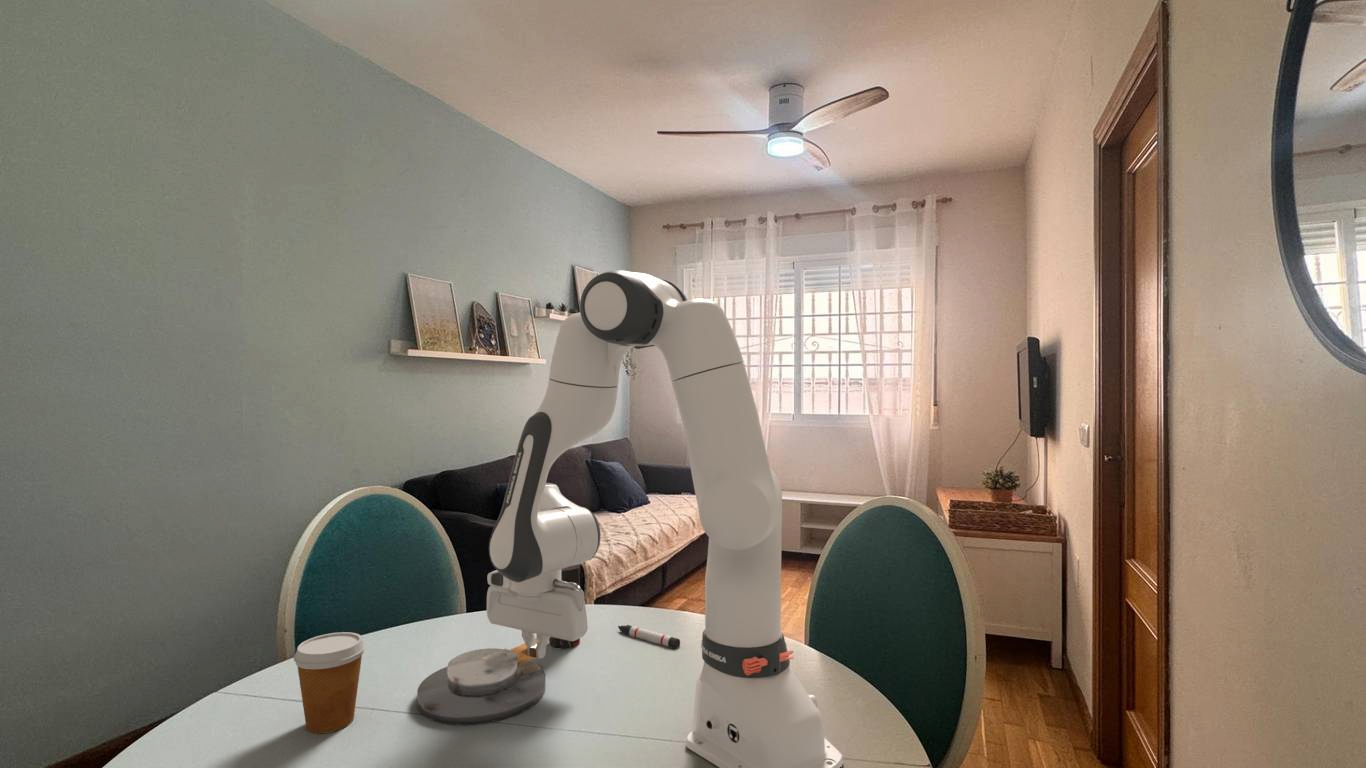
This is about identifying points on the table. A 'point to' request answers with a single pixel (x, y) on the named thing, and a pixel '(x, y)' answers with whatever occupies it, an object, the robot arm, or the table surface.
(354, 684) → the disposable coffee cup
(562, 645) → the deodorant
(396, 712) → the table surface
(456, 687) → the dial
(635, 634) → the marker
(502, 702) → the plate
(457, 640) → the table surface
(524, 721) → the table surface
